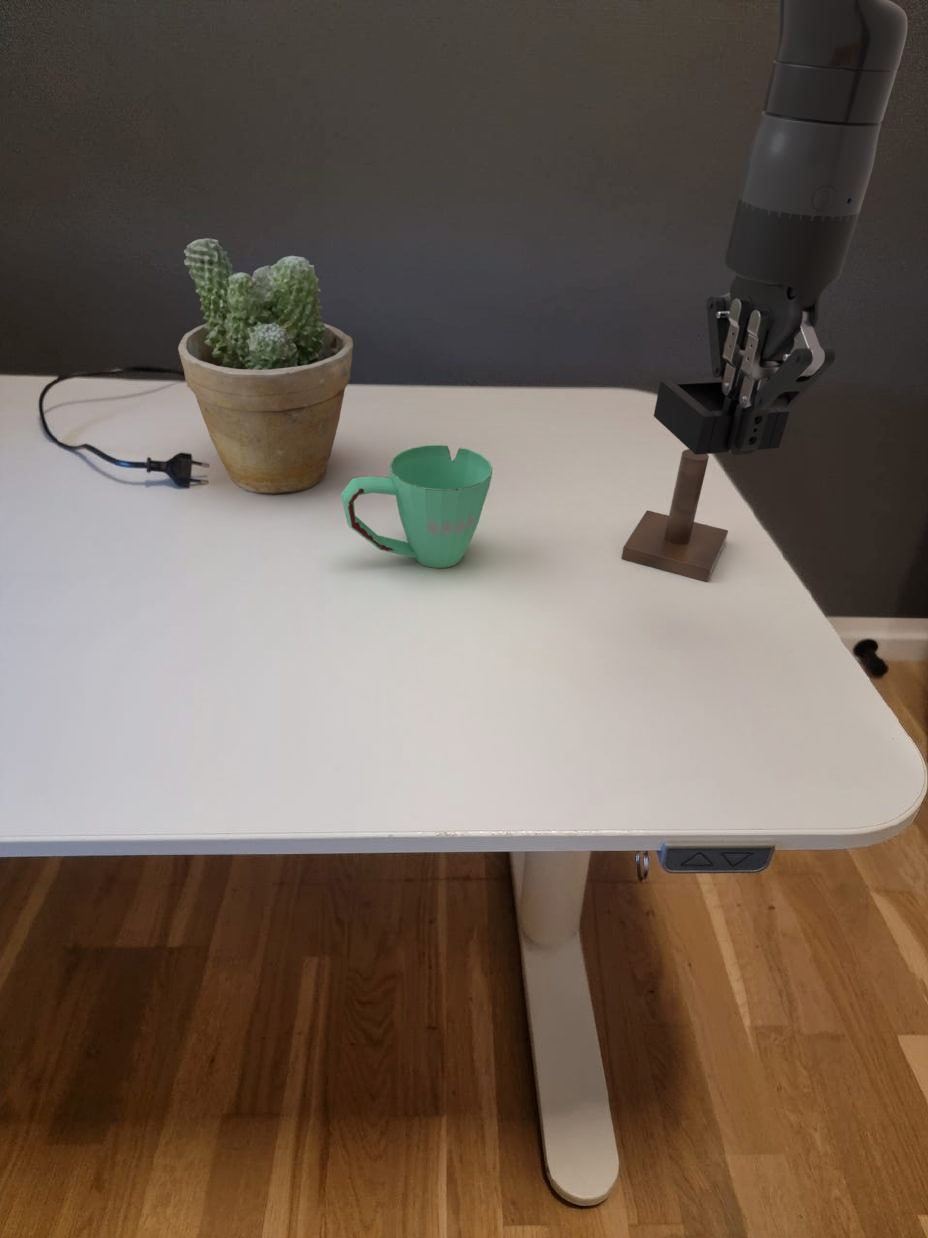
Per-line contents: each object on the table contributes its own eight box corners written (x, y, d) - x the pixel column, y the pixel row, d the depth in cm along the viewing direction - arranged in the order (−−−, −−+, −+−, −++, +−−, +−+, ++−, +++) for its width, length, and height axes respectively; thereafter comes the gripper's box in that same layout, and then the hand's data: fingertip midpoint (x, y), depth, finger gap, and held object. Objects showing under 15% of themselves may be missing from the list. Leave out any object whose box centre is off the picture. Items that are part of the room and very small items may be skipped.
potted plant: (361, 442, 110) (356, 231, 95) (350, 513, 95) (342, 275, 80) (215, 438, 109) (187, 224, 94) (180, 508, 94) (141, 267, 79)
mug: (467, 526, 93) (471, 440, 88) (500, 573, 86) (508, 482, 80) (333, 544, 89) (329, 455, 83) (357, 596, 82) (353, 502, 76)
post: (725, 542, 93) (749, 447, 87) (707, 582, 87) (732, 483, 80) (644, 521, 96) (662, 428, 90) (621, 558, 89) (638, 461, 83)
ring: (779, 448, 66) (790, 411, 64) (695, 455, 64) (704, 417, 62) (732, 411, 72) (740, 375, 70) (653, 416, 70) (660, 380, 68)
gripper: (919, 222, 51) (829, 485, 61) (791, 178, 61) (733, 409, 72) (809, 222, 49) (736, 493, 59) (697, 177, 60) (651, 414, 70)
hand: (735, 446), depth 66 cm, fingers closed on ring, 1 cm apart
